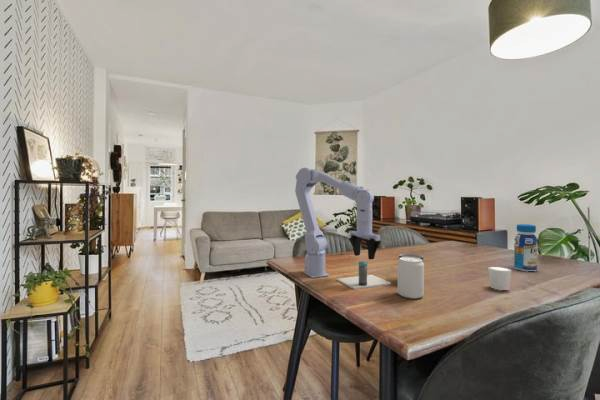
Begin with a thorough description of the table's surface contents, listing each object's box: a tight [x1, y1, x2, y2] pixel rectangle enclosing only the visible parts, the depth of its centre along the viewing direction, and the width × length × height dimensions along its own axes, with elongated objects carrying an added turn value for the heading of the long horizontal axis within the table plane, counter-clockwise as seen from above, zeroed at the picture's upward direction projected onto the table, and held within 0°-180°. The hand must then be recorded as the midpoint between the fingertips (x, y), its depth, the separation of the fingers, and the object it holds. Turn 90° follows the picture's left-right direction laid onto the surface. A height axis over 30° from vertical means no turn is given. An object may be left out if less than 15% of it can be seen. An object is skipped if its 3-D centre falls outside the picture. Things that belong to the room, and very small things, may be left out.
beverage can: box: [397, 257, 425, 300], centre depth 98 cm, size 8×8×12 cm
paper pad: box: [336, 274, 392, 290], centre depth 112 cm, size 12×16×1 cm
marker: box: [358, 261, 368, 286], centre depth 107 cm, size 3×3×8 cm
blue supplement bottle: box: [513, 223, 539, 272], centre depth 132 cm, size 8×8×20 cm
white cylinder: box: [488, 266, 512, 291], centre depth 106 cm, size 7×7×7 cm
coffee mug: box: [398, 252, 424, 263], centre depth 114 cm, size 12×9×10 cm
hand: (364, 257), depth 113 cm, fingers open, 7 cm apart
